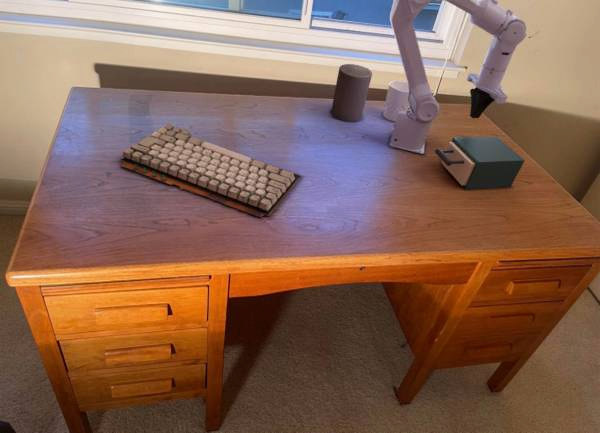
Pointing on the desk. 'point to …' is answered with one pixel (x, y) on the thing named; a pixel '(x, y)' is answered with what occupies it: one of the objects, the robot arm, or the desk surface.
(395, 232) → the desk surface
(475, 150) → the cabinet
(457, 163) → the drawer
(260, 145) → the desk surface
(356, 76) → the pillar candle
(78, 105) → the desk surface
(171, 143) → the mechanical keyboard
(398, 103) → the white cup
